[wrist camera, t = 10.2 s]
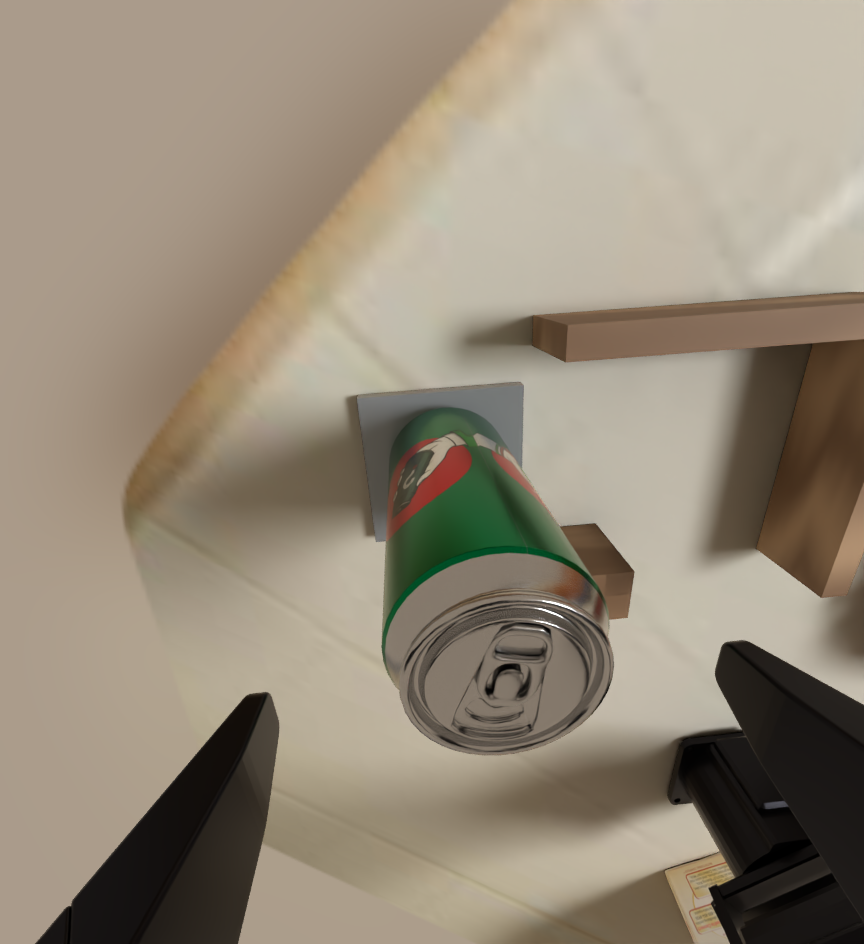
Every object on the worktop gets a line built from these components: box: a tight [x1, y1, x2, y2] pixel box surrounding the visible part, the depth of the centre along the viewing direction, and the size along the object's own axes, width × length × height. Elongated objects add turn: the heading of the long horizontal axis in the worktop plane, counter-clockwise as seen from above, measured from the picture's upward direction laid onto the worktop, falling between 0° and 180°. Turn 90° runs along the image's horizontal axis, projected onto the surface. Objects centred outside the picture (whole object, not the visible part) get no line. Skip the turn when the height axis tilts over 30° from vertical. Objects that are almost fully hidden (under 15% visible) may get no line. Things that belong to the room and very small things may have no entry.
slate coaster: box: [357, 382, 524, 542], centre depth 20 cm, size 7×7×1 cm
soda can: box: [382, 407, 614, 755], centre depth 14 cm, size 5×5×12 cm
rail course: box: [532, 292, 864, 620], centre depth 19 cm, size 13×14×4 cm
